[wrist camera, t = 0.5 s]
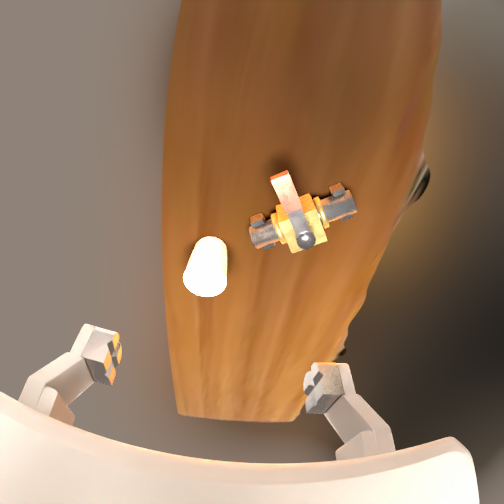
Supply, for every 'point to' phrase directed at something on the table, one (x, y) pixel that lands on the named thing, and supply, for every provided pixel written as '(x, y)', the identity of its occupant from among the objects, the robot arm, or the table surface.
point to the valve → (314, 213)
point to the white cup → (207, 267)
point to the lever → (293, 209)
